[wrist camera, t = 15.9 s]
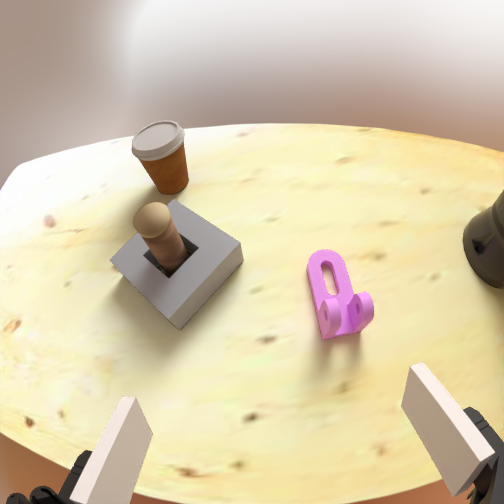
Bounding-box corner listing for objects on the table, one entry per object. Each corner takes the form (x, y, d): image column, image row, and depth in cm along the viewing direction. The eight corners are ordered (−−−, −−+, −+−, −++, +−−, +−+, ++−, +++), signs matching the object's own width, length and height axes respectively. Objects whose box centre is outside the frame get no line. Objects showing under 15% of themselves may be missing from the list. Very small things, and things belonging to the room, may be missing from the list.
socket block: (181, 218, 49) (173, 199, 45) (243, 260, 44) (240, 242, 40) (123, 275, 44) (109, 260, 40) (179, 330, 39) (168, 319, 34)
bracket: (360, 331, 37) (376, 315, 31) (322, 340, 37) (332, 325, 31) (337, 252, 44) (347, 225, 38) (303, 257, 44) (307, 230, 38)
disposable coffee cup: (181, 206, 51) (162, 155, 40) (141, 196, 53) (118, 149, 43) (205, 170, 55) (193, 120, 45) (166, 163, 57) (150, 117, 47)
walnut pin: (180, 250, 46) (153, 196, 34) (200, 266, 44) (176, 212, 33) (160, 271, 44) (126, 221, 33) (179, 288, 42) (148, 239, 31)
